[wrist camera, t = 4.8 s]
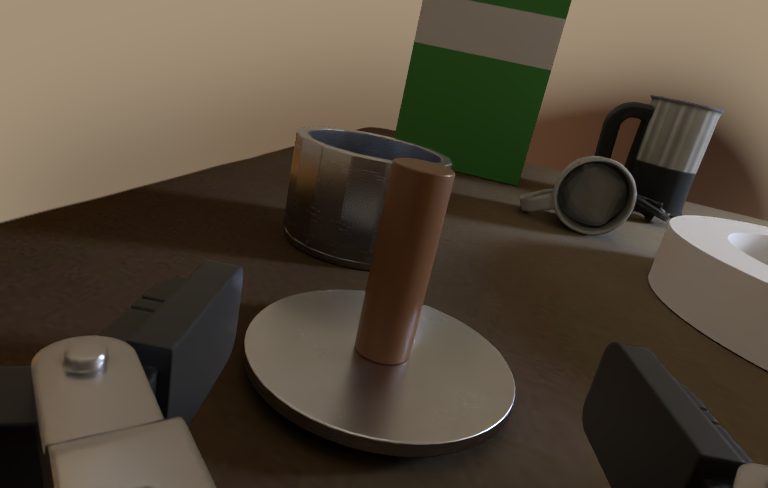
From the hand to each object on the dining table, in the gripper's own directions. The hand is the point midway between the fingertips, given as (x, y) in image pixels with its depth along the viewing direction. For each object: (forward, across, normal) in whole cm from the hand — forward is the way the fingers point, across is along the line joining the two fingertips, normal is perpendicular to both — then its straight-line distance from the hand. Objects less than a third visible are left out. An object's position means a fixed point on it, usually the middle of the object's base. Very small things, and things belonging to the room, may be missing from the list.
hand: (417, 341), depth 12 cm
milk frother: (+61, -34, +7) cm, 71 cm away
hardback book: (+66, -8, +7) cm, 67 cm away
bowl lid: (+10, 0, +6) cm, 12 cm away
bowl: (+26, +2, +7) cm, 27 cm away
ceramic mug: (+46, -19, +7) cm, 50 cm away
